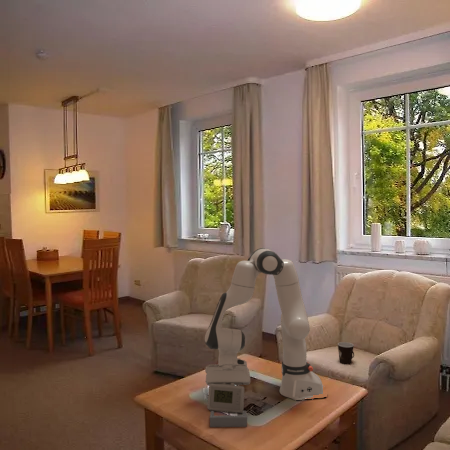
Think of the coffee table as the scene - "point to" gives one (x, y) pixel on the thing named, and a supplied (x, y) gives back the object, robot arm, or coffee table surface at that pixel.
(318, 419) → the coffee table surface
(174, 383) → the coffee table surface
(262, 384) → the coffee table surface
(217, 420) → the dock
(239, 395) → the digital clock
